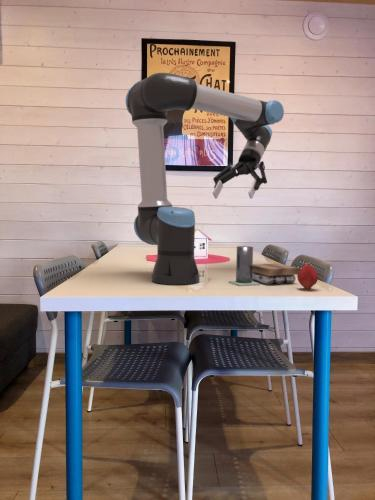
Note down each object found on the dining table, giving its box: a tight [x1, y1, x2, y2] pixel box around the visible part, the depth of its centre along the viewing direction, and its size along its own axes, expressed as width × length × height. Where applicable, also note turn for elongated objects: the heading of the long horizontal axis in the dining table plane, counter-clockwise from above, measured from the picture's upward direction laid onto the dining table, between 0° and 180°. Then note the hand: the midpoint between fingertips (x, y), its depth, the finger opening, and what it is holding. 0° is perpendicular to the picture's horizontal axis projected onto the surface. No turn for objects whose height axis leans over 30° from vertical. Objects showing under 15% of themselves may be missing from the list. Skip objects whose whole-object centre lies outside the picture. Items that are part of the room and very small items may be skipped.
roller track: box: [252, 272, 296, 286], centre depth 146 cm, size 11×9×3 cm
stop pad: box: [228, 280, 261, 287], centre depth 142 cm, size 7×7×1 cm
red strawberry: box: [297, 262, 319, 291], centre depth 133 cm, size 6×6×8 cm
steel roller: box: [235, 245, 254, 283], centre depth 141 cm, size 5×5×11 cm
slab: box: [252, 262, 300, 276], centre depth 146 cm, size 11×12×2 cm
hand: (231, 195), depth 157 cm, fingers open, 13 cm apart
